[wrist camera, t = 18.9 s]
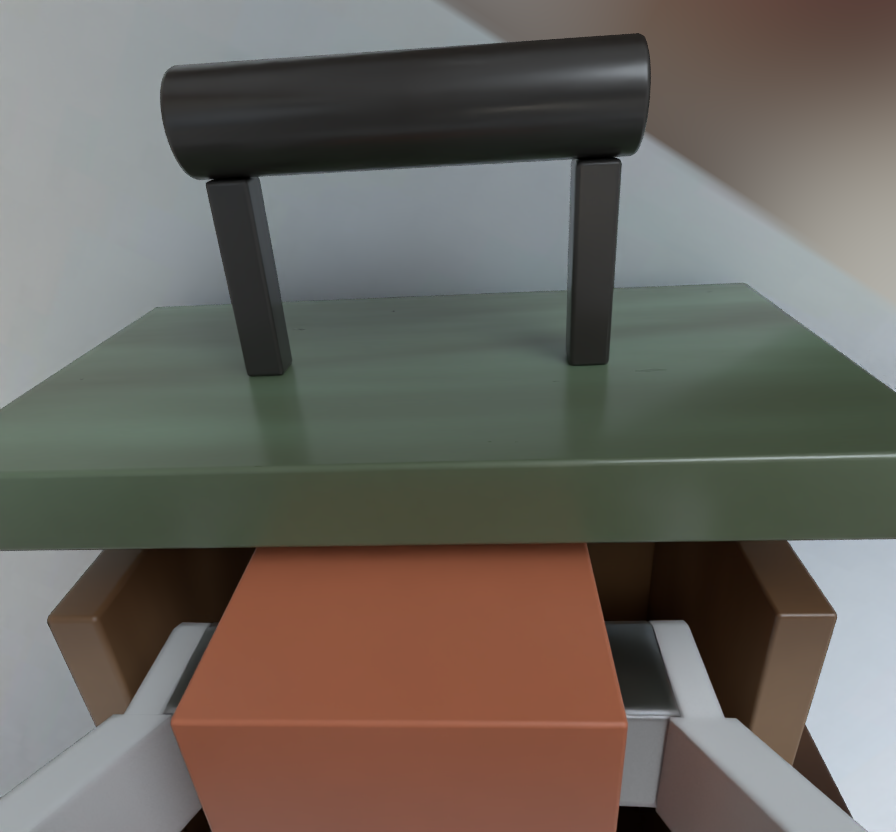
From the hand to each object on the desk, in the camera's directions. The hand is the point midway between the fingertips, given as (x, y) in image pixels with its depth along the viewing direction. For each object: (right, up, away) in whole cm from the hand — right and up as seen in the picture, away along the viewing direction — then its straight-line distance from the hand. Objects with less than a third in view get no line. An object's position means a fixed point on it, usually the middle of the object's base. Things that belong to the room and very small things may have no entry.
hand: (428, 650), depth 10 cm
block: (0, +1, +2) cm, 2 cm away
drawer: (0, +2, +6) cm, 6 cm away
